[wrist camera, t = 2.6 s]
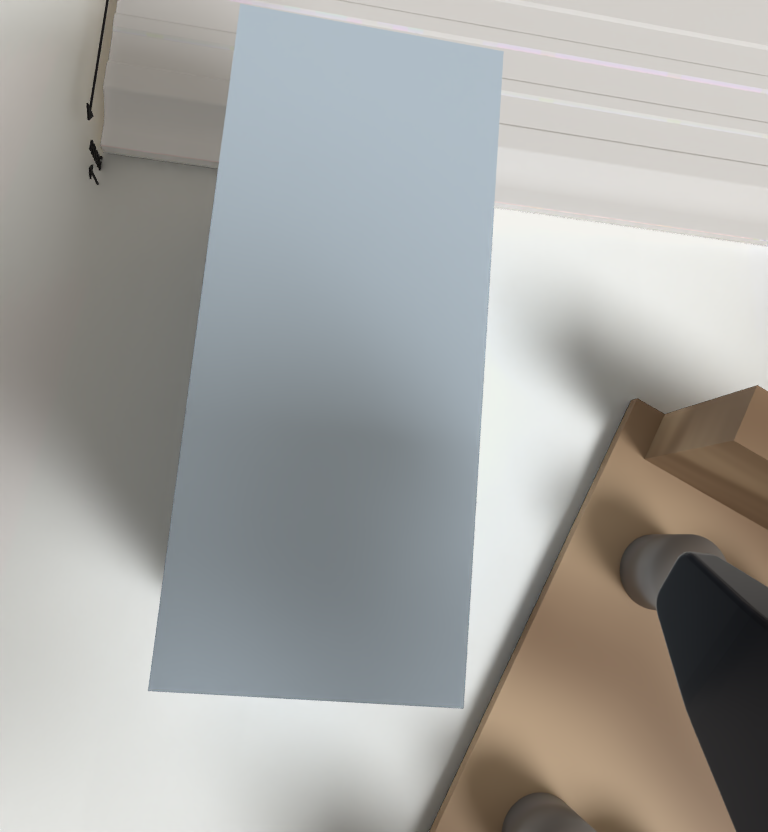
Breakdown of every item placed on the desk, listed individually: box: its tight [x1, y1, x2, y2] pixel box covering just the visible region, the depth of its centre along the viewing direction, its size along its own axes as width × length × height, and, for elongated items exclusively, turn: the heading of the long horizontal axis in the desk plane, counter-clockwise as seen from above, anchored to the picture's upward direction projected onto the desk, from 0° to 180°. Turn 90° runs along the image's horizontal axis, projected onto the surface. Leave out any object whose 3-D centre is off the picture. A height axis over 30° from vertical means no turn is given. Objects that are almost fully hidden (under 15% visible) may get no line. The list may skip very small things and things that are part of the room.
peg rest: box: [429, 385, 768, 832], centre depth 19 cm, size 17×9×5 cm, turn 151°
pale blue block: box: [148, 4, 504, 709], centre depth 17 cm, size 12×5×9 cm, turn 175°
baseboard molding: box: [87, 0, 768, 246], centre depth 24 cm, size 31×3×12 cm
